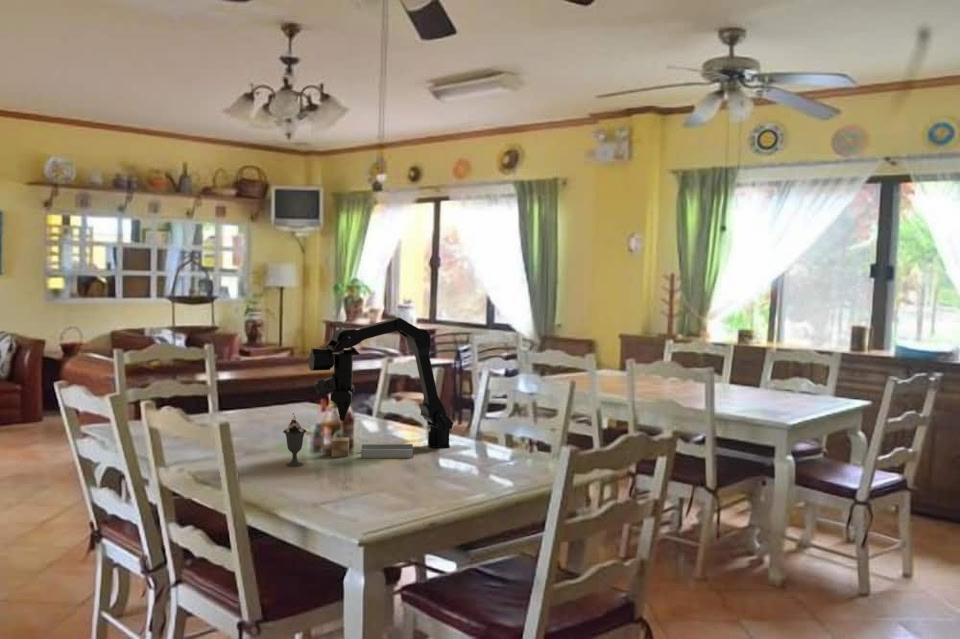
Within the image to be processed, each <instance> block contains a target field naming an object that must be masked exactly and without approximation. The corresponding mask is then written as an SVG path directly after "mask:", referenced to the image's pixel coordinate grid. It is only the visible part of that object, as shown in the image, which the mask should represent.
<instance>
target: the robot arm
mask: <svg viewBox="0 0 960 639" xmlns="http://www.w3.org/2000/svg"><path fill="white" fill-rule="evenodd" d="M394 332H397V333H399V335H401V336H402V337H403V338H405V339H406V342H407V344H408V346H409V349H410V350H411V352H412V354H413V356H414V358H415V362H416V366H417V370H418V371H417V372H418V377H419V381H420V386H421V391H422V395H423V400H422V403H419V404H418V406H419V410H420V416H421V417H423V419H424V421H426V422H427V423H426V424H427V425H428V426H429V430H428V431H427V434H428V435H427V444H428V445H429V448H450V447H451V446H450V430H452V428H453V426H454V422H453V421H452V420H451V419H450V418H449V416H447V411H446V409H445V406H444V403H443V402H442V401H441V398H440V397H439V395H438V392H437V391H438V390H437V386H436V380H435V377H434V371H433V367H432V361H431V356H430V351H431V347H432V342H431V333H430V332H429V331H428V330H426V329H424V328H418V327H417V326H415V325H413V324H411V323H409V322H408V321H407V320H405V319H404V318H402V317H399V316H395V317H392V318H390V319H386V320H383V321H379V322H375V323H371V324H367V325H364V326H363V325H362V326H361V327H360V326H359V327H347V328H346V327H345V328H343V327H342V328H337V329H335V330H334V331H333V334H332V335H331V339H330V341H329V342H328V343H327V345H326V346H325V347H324V348H317V347H316V348H315V347H312V348H311V349H310V353H309V355H308V361H307V362H308V367H309V370H310V371H311V372H312V371H313V372H314V371H315V372H316V371H317V372H318V371H331V368H332V369H333V373H332V375H331V377H328V378H321V379H318V380H317V381H316V382H315V383H314V387H315V390H316V392H317V394H318V395H319V394H321V393H323V392H325V391H328V390H331V393H330V401H331V402H333V403H334V404H335V405H336V407H337V411H338V412H337V413H338V416H339V421H340V422H344V421H345V419H346V416H347V413H348V410H349V409H350V406H351V404H352V400H353V397H354V395H353V394H354V393H355V385H354V384H353V375H354V374H353V373H354V371H353V363H354V362H353V361H354V360H353V359H354V358H353V356H359V355H360V352H359V351H358V350H357V349H356V347H355V346H357V345H359V344H360V343H363V341H366V340H368V339H372V338H375V337H379V336H382V335H383V336H384V335H387V334H391V333H394Z"/></svg>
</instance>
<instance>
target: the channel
mask: <svg viewBox="0 0 960 639" xmlns="http://www.w3.org/2000/svg"><path fill="white" fill-rule="evenodd" d="M413 446H414V445H413V443H361V449H360V458H361V459H362V458H364V459H370V458H371V459H372V458H373V459H374V458H375V459H378V458H382V459H385V458H386V459H387V458H389V459H391V458H392V459H394V458H396V459H397V458H398V459H401V458H402V459H406V458H407V459H408V458H409V459H412V458H413V459H414V448H413Z"/></svg>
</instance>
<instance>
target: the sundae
mask: <svg viewBox="0 0 960 639" xmlns="http://www.w3.org/2000/svg"><path fill="white" fill-rule="evenodd" d="M292 415H293V418H292V419H291V421H290V422H289V424H288V426H287V428H285V429H284V430H283V433H284V434H285V438H286V444H287V449H288V451H289V453H290V452H291V454H292V459H291V461H290V462H286V464H285V466H287V467H293V468H296V467H301V466H304V463H303V462H301V461H299V460H298V456H297V455H298V453H299V452H300V451H301V450H302V447H303V443H304V442H303V441H304V435H305V434H306V433H307V430H306V429H305V428H302V427H301V425H300V423H299V422H298V420H296V415H295V413H292Z"/></svg>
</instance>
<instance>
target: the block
mask: <svg viewBox="0 0 960 639" xmlns="http://www.w3.org/2000/svg"><path fill="white" fill-rule="evenodd" d="M349 454H350V437H343V436H342V437H339V436H338V437H336V436H335V437H332V439H331V457H333V458H334V457H337V458H338V457H346V458H347V457H349Z"/></svg>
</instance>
